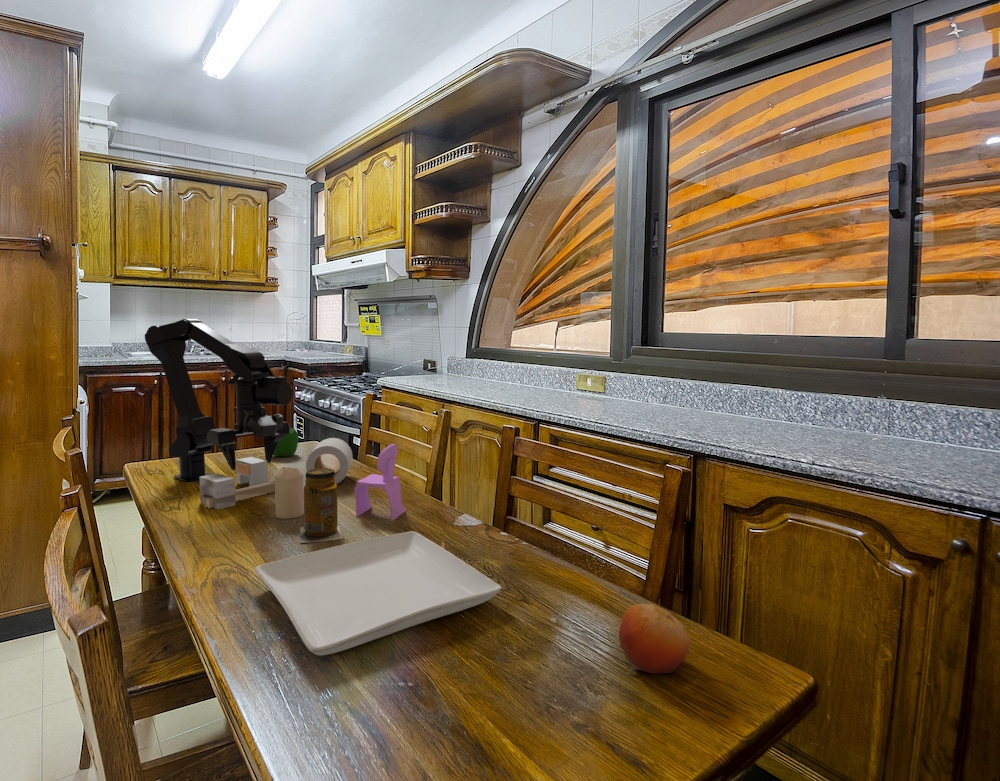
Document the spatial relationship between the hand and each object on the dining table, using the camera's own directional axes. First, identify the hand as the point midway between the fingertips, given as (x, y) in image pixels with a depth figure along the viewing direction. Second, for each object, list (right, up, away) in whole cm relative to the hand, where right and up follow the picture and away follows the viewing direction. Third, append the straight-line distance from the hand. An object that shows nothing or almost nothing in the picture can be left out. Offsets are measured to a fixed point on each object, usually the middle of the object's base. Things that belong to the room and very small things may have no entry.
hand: (251, 466), depth 140 cm
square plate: (+43, -12, -56) cm, 72 cm away
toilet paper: (+18, -4, +5) cm, 19 cm away
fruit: (+79, -14, -73) cm, 108 cm away
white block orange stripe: (0, -4, 0) cm, 5 cm away
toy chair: (+36, -8, -20) cm, 42 cm away
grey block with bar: (+3, -6, -10) cm, 12 cm away
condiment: (+27, -9, -32) cm, 43 cm away
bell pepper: (-4, -1, +31) cm, 32 cm away
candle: (+17, -7, -22) cm, 29 cm away
